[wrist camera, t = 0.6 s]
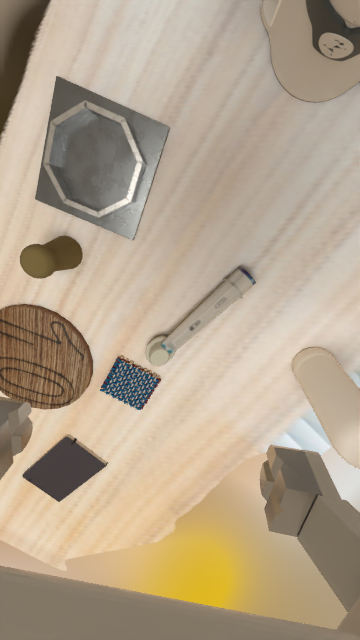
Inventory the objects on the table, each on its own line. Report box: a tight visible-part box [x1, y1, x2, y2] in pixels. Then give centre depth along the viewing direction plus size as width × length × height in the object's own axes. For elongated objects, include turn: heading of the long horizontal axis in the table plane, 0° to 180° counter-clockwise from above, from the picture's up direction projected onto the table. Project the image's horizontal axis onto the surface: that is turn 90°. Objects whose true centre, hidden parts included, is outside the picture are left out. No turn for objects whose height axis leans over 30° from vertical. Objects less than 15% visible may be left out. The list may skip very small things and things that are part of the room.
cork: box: [20, 236, 82, 278], centre depth 46 cm, size 6×6×11 cm
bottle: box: [292, 347, 360, 469], centre depth 42 cm, size 8×8×30 cm
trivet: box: [0, 304, 93, 409], centre depth 60 cm, size 25×25×2 cm
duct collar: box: [35, 76, 170, 240], centre depth 44 cm, size 18×18×3 cm
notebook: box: [23, 435, 108, 502], centre depth 73 cm, size 13×2×21 cm
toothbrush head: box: [145, 267, 256, 366], centre depth 52 cm, size 5×7×25 cm
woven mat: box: [100, 356, 161, 410], centre depth 61 cm, size 10×11×2 cm
